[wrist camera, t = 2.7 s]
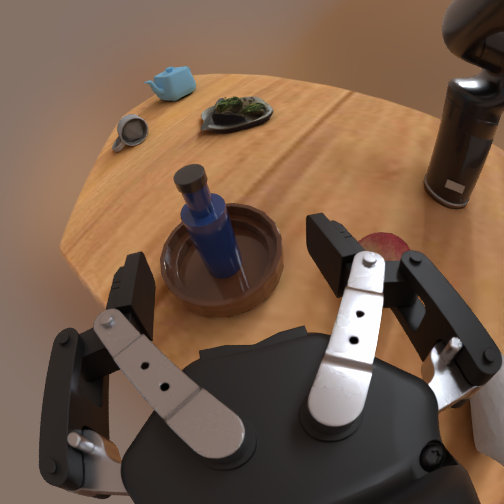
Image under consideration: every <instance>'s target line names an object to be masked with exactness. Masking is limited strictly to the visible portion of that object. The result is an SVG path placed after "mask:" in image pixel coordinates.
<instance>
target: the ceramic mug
mask: <svg viewBox="0 0 504 504" xmlns="http://www.w3.org/2000/svg"><path fill="white" fill-rule="evenodd" d="M117 131H118V134H119V136H118V138H117V139H116V140H115V142H114V144H113V147H112V149H113V150H114V151H116V152H119V151H120V150H121V149H122V148H123V147H124V146H125V145H129V146H135V145H138V144H140V143H142V142H143V141H144V140H145V138H146V137H147V135H148V125H147V123H146V121H145V120H144V119H142V118H141V117H139V116H137V115H134V114H129V115H126V116H124V117H123V118H121V120H120V121H119V123H118V126H117ZM121 140H122V141H121ZM120 142H121V143H120ZM119 143H120V144H119Z"/></svg>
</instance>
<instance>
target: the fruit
mask: <svg viewBox="0 0 504 504" xmlns="http://www.w3.org/2000/svg"><path fill="white" fill-rule="evenodd" d="M358 243H359V244H360V245H361V246H362V247H363V248H364V249H365V251H371V252H375V253H377V254H379V255H381V256H382V257H383V258H384V260H385V261H400V259H401V256H402V254H403V253H404V252H406V251H410V249H409V247H408V245H407V244H406V243H405V242H404V241H403V240H402V239H401V238H399V237H398V236H396V235H394V234H391V233H386V232H385V233H384V232H379V233H373V234H370V235H367V236H366V237H364V238H362V239H361V240H359V241H358Z"/></svg>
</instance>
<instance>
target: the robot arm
mask: <svg viewBox="0 0 504 504" xmlns="http://www.w3.org/2000/svg"><path fill="white" fill-rule="evenodd" d="M442 35H443V39H444V42H445V44H446V46H447V48H448V49H449V50H450V51H451V53H453V54H454V55H455V56H457V57H458V58H460V59H462V60H464V61H466V62H468V63H471V64H473V65H476V66H478V67H481V68H482V70H481V72H480V73H479V74H478V75H475V76H473V77H467V78H453V79H451V80H450V81H449V83H448V87H447V93H446V100H445V105H444V110H443V115H442V119H441V123H440V128H439V132H438V136H437V139H436V143H435V147H434V150H433V154H432V157H431V161H430V164H429V167H428V170H427V173H426V175H425V178H424V185H425V188H426V190H427V191H428V193H429V194H430V195H431V196H432V197H433V198H434V199H435V200H436V201H438V202H439V203H441V204H443V205H445V206H447V207H450V208H455V209H460V208H463V207H465V206H466V205H467V203H468V201H469V198H470V195H471V193H472V191H473V189H474V187H475V185H476V182H477V180H478V178H479V175H480V173H481V171H482V168H483V166H484V163H485V161H486V158H487V155H488V153H489V150H490V147H491V144H492V141H493V138H494V135H495V132H496V129H497V126H498V123H499V120H500V117H501V114H502V113H503V111H504V0H453V2H452V3H451V4H450V5H449V7H448V8H447V10H446V12H445V15H444V18H443V23H442ZM306 244H307V249H308V252H309V254H310V256H311V257H312V259H313V260H314V262H315V263H316V265H317V267H318V268H319V270H320V271H321V273H322V274H323V276H324V278H325V279H326V281H327V282H328V284H329V286H330V287H331V289H332V291H333V292H334V294H335V295H336V297H337V298H340V297H342V301H341V304H340V308H339V311H338V315H337V318H336V321H335V325H334V328H333V331H332V334H331V335H327V334H323V333H307V331H306V328H305V326H301V327H297V328H293V329H290V330H286V331H282V332H279V333H277V334H275V335H273V336H271V337H269V338H267V339H265V340H263V341H261V342H259V343H257V344H254V345H224V346H220V347H215V348H210V349H205V350H200V351H199V354H200V359H198V360H196V361H194V362H192V363H191V364H189V365H188V366H186V367H185V368H184V369H183V370H182V371H181V370H180V369H179V368H178V367H177V366H176V365H175V364H174V363H173V362H172V361H170V360H169V359H168V358H167V357H166V356H165V355H164V354H163V353H162V352H161V351H160V350H159V349H158V348H157V347H156V346H155V345H154V344H153V343H152V342H151V341H153V321H154V304H155V290H156V286H155V280H154V277H153V274H152V272H151V270H150V267H149V265H148V263H147V260H146V258H145V255H144V253H143V252H138V253H133V254H129V255H127V257H126V261H125V265H124V266H123V267H120V268H119V269H118V271H117V272H116V273H115V275H114V278H113V282H112V283H113V284H112V286H111V290H110V294H109V298H108V302H107V307H106V310H105V311H103V312H102V313H100V314H99V315H98V317H97V318H96V319H95V321H94V324H93V328H91V329H89V330H87V331H85V332H83V333H81V334H79V333H78V332H77V331H76V330H75V329H74V328H67V329H64V330H62V331H61V332H60V333H59V334H58V335H57V336H56V338H55V340H54V343H53V347H52V352H51V356H50V361H49V367H48V372H47V378H46V384H45V390H44V397H43V404H42V413H41V425H40V441H39V469H40V473H41V475H42V477H43V478H44V480H46V482H47V483H49V484H51V485H53V486H56V487H59V488H62V489H65V490H66V491H69V492H72V493H76V494H79V495H83V496H87V497H94V498H98V499H106V498H108V497H110V496H111V495H125V496H130V497H131V499H132V500H133V502H134V503H135V504H481V503H480V501H479V498H478V496H477V493H476V491H475V488H474V486H473V484H472V481H471V479H470V477H469V474H468V473H467V471H466V469H465V468H464V467H463V466H462V465H461V464H460V463H459V462H458V461H457V460H456V459H455V458H454V457H453V456H452V455H451V454H450V453H449V452H448V450H447V449H446V448H445V446H444V445H443V443H442V440H441V436H440V431H439V421H438V414H439V413H441V412H443V411H444V410H446V409H448V408H449V407H451V408H459V407H461V406H463V405H464V404H465V403H466V402H467V401H468V400H469V399H470V398H472V397H473V396H474V395H475V394H476V393H477V392H478V391H479V390H480V389H481V388H482V387H483V386H484V385H485V384H486V383H487V382H488V381H489V380H490V379H491V378H492V377H493V376H494V375H495V374H496V373H497V372H498V371H499V370H500V368H501V366H502V355H501V352H500V350H499V349H498V347H497V346H496V344H495V343H494V341H493V340H492V338H491V337H490V335H489V334H488V332H487V331H486V329H485V328H484V327H483V325H482V324H481V322H480V321H479V320H478V318H477V317H476V316H475V314H474V313H473V312H472V310H471V309H470V308H469V306H468V305H467V304H466V303H465V301H464V300H463V299H462V297H461V296H460V295H459V294H458V293H457V291H456V290H455V289H454V288H453V286H452V285H451V284H450V283H449V282H448V281H447V279H446V278H445V277H444V276H443V275H442V274H441V272H440V271H439V270H438V269H437V268H436V267H435V266H434V264H433V263H432V262H431V261H430V260H429V259H428V258H427V257H426V256H425V255H424V254H422V253H420V252H418V251H412V250H410V251H406V252H404V253H403V254H402V256H401V259H400V261H385V260H384V258H383V257H382V256H381V255H379V254H377V253H375V252H371V251H365V249H364V248H363V247H362V246H361V245H360V244H359V243H358V242H357V240H356V239H355V238H354V237H352V235H351V234H350V233H349V232H348V231H347V230H346V228H345V227H344V226H343V225H342V224H340V223H338V222H336V221H334V220H333V221H329V220H328V218H327V217H326V216H325V215H324V214H323V213H317V214H312V215H308V216H307V217H306ZM418 296H419V297H420V298H421V300H422V301H423V302H424V305H425V307H424V306H423V304H422V303H421V301H420V300H419V299H418ZM382 308H391V310H392V311H393V313H394V314H395V316H396V318H397V319H398V321H399V322H400V324H401V326H402V327H403V329H404V331H405V332H406V334H407V336H408V337H409V339H410V341H411V342H412V344H413V346H414V347H415V349H416V351H417V353H418V354H419V356H420V358H421V360H422V361H423V364H422V367H421V374H422V377H423V380H422V379H420V378H418V377H416V376H414V375H412V374H410V373H408V372H406V371H403V370H401V369H399V368H397V367H395V366H393V365H391V364H389V363H387V362H385V361H382V360H380V359H378V358H376V357H374V355H375V349H376V344H377V338H378V332H379V326H380V320H381V313H382ZM120 369H121V370H122V372H123V373H124V374H125V375H126V377H127V378H128V379H129V380H130V382H131V383H132V384H133V385H134V387H135V388H136V389H137V390H138V391H139V393H140V394H141V395H142V396H143V397H144V398H145V400H146V401H147V402H148V403H149V404H150V405H151V406H152V408H153V409H154V411H153V413H152V414H151V415H150V417H149V419H148V420H147V422H146V423H145V424H144V426H143V427H142V429H141V430H140V432H139V433H138V435H137V436H136V438H135V439H134V441H133V442H132V444H131V445H130V447H129V448H128V450H127V451H126V453H125V454H124V457H123V459H122V460H121V458H120V455H119V451H118V448H117V447H116V445H115V444H114V443H113V442H111V441H110V440H109V411H108V409H109V407H108V404H109V401H108V399H109V397H108V396H109V374H111V373H113V372H115V371H117V370H120Z"/></svg>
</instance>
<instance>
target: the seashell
mask: <svg viewBox="0 0 504 504" xmlns="http://www.w3.org/2000/svg"><path fill="white" fill-rule="evenodd" d="M501 355H502V354H501ZM470 405H471V416H472V426H473V434H474V442H475V447H476V449H477V451H478V452H481V453H483V454H485V455H486V456H489V457H491V458H492V459H494V460H496V461H497V462H499V463H500V464H501V465H503V466H504V356H503V355H502V366H501V368H500V370H499V371H498V372H497V373H496V374H495V375H494V376H493V377H492V378H491V379H490V380H489V381H488V382H487V383H486V384H485V385H484V386H483V387H482V388H481V389H480V390H479V391H478V392H477V393H476V394H475V395H474V396H473V397H472V398H470Z"/></svg>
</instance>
